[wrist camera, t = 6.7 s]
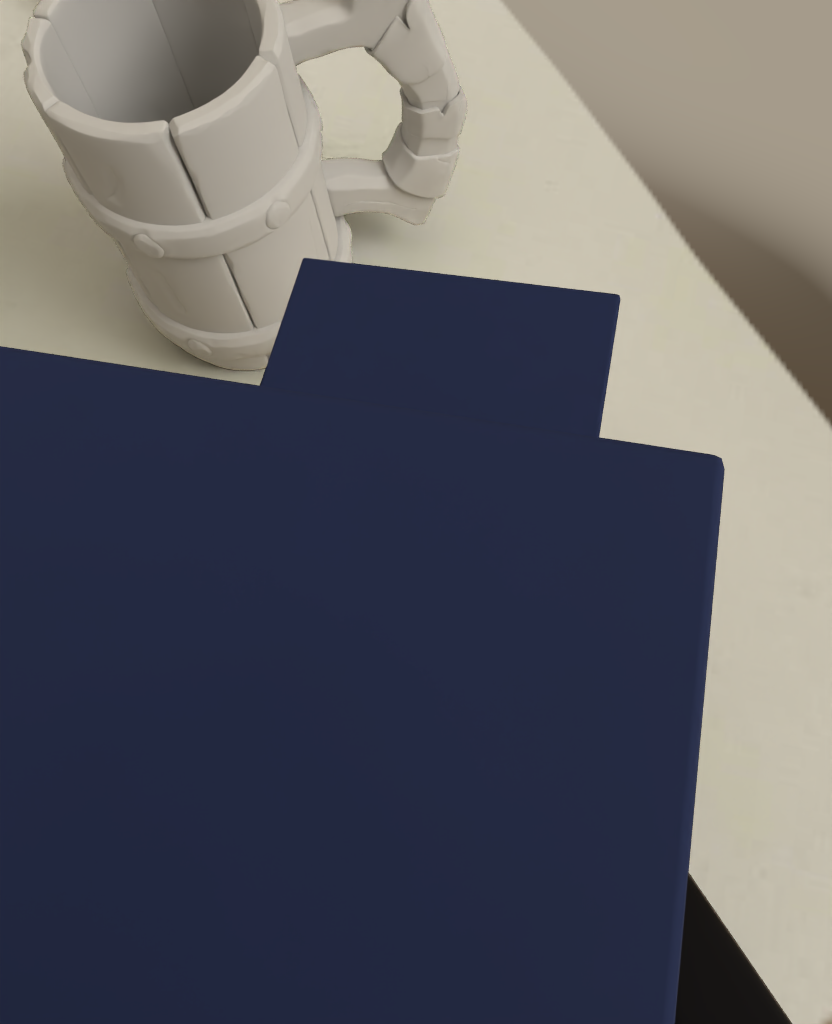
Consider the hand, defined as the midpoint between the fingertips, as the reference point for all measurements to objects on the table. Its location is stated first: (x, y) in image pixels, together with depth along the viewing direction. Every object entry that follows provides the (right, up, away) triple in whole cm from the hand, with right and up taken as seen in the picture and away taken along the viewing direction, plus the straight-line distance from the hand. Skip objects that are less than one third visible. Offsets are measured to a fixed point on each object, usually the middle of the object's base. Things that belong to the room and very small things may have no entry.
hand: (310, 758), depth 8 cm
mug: (-3, +12, +18) cm, 22 cm away
